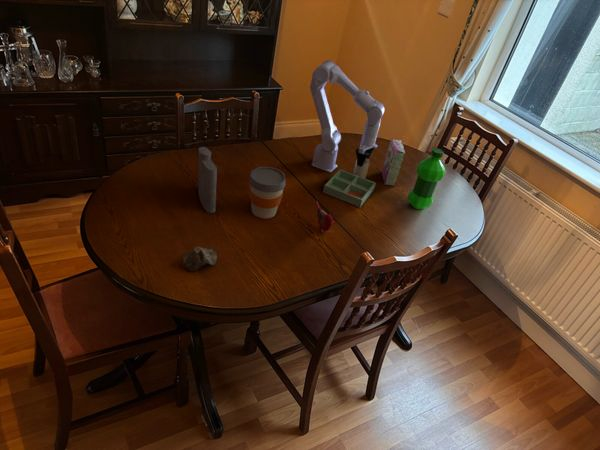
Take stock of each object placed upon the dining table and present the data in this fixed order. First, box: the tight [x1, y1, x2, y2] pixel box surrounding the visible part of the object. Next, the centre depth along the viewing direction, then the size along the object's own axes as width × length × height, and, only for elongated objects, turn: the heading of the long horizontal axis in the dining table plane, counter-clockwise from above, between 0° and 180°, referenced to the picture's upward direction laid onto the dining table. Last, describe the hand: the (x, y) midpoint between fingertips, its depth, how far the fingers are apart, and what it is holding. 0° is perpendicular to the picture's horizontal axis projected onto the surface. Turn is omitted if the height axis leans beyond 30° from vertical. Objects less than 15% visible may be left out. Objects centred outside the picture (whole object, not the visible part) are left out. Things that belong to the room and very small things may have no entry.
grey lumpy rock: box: [182, 245, 218, 272], centre depth 133 cm, size 8×7×10 cm
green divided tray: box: [322, 168, 377, 208], centre depth 180 cm, size 16×16×4 cm
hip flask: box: [197, 146, 218, 214], centre depth 155 cm, size 16×4×20 cm, turn 23°
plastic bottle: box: [407, 147, 446, 210], centre depth 173 cm, size 10×10×25 cm
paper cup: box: [352, 158, 371, 179], centre depth 190 cm, size 6×6×8 cm
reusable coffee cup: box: [248, 166, 286, 219], centre depth 157 cm, size 13×13×15 cm
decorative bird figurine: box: [315, 199, 334, 235], centre depth 156 cm, size 3×18×10 cm, turn 15°
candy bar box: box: [381, 138, 406, 187], centre depth 189 cm, size 11×5×16 cm, turn 179°
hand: (362, 162), depth 188 cm, fingers open, 7 cm apart
